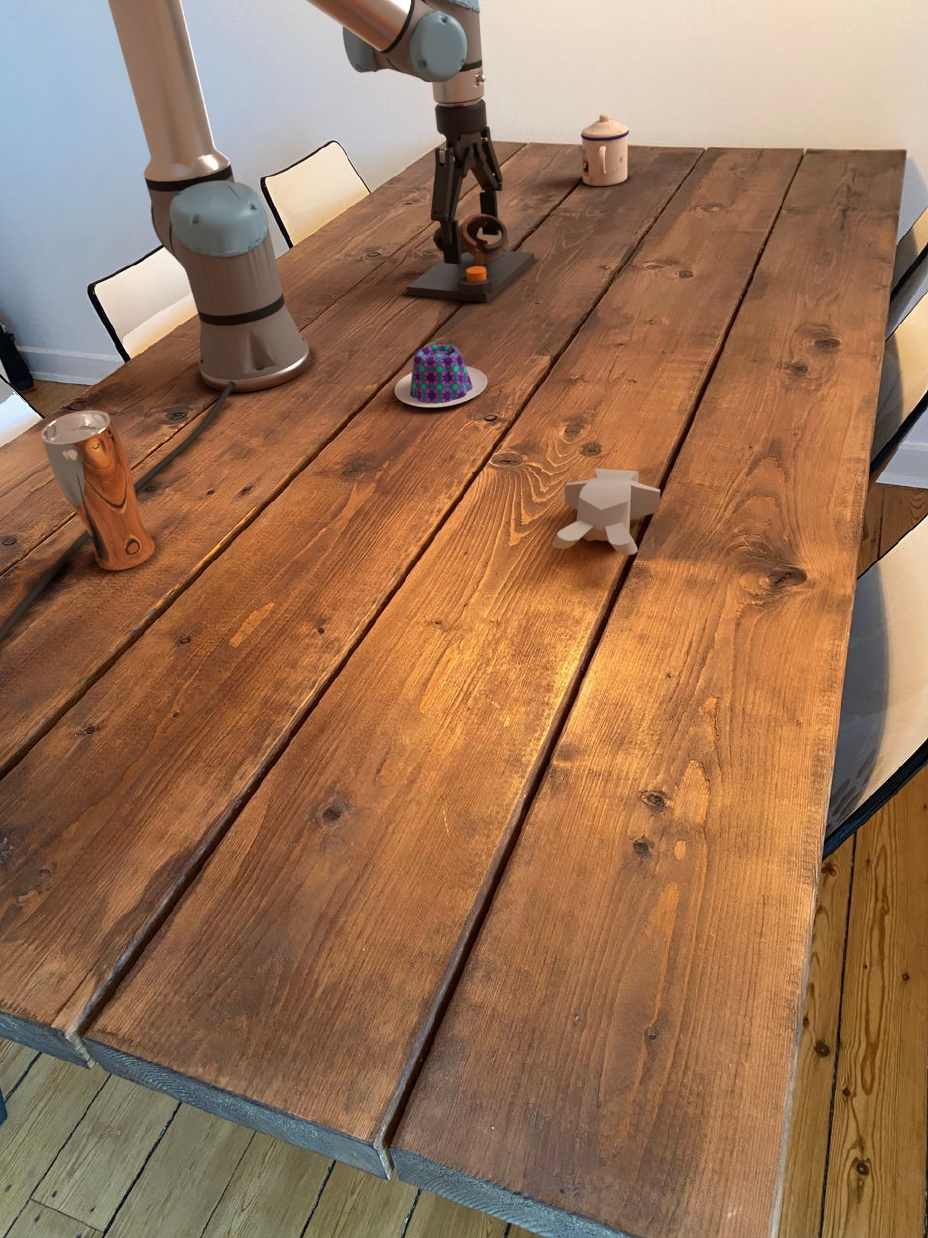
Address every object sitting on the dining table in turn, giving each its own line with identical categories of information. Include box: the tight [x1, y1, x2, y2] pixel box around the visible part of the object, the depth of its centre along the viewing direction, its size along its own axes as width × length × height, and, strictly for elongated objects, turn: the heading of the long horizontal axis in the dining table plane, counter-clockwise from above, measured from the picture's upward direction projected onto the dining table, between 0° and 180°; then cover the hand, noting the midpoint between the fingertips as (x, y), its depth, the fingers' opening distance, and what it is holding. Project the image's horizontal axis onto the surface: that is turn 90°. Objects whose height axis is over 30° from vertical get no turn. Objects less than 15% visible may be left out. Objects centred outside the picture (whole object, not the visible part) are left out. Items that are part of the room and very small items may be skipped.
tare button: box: [466, 266, 487, 282], centre depth 143 cm, size 3×3×2 cm
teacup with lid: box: [580, 113, 630, 187], centre depth 181 cm, size 12×9×12 cm
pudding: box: [394, 343, 488, 408], centre depth 120 cm, size 12×12×5 cm
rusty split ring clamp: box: [432, 213, 510, 267], centre depth 151 cm, size 12×10×8 cm
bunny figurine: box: [551, 468, 661, 556], centre depth 93 cm, size 10×5×15 cm
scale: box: [406, 250, 536, 304], centre depth 151 cm, size 19×14×3 cm
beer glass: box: [39, 409, 156, 572], centre depth 95 cm, size 7×7×15 cm
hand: (472, 248), depth 152 cm, fingers open, 13 cm apart
